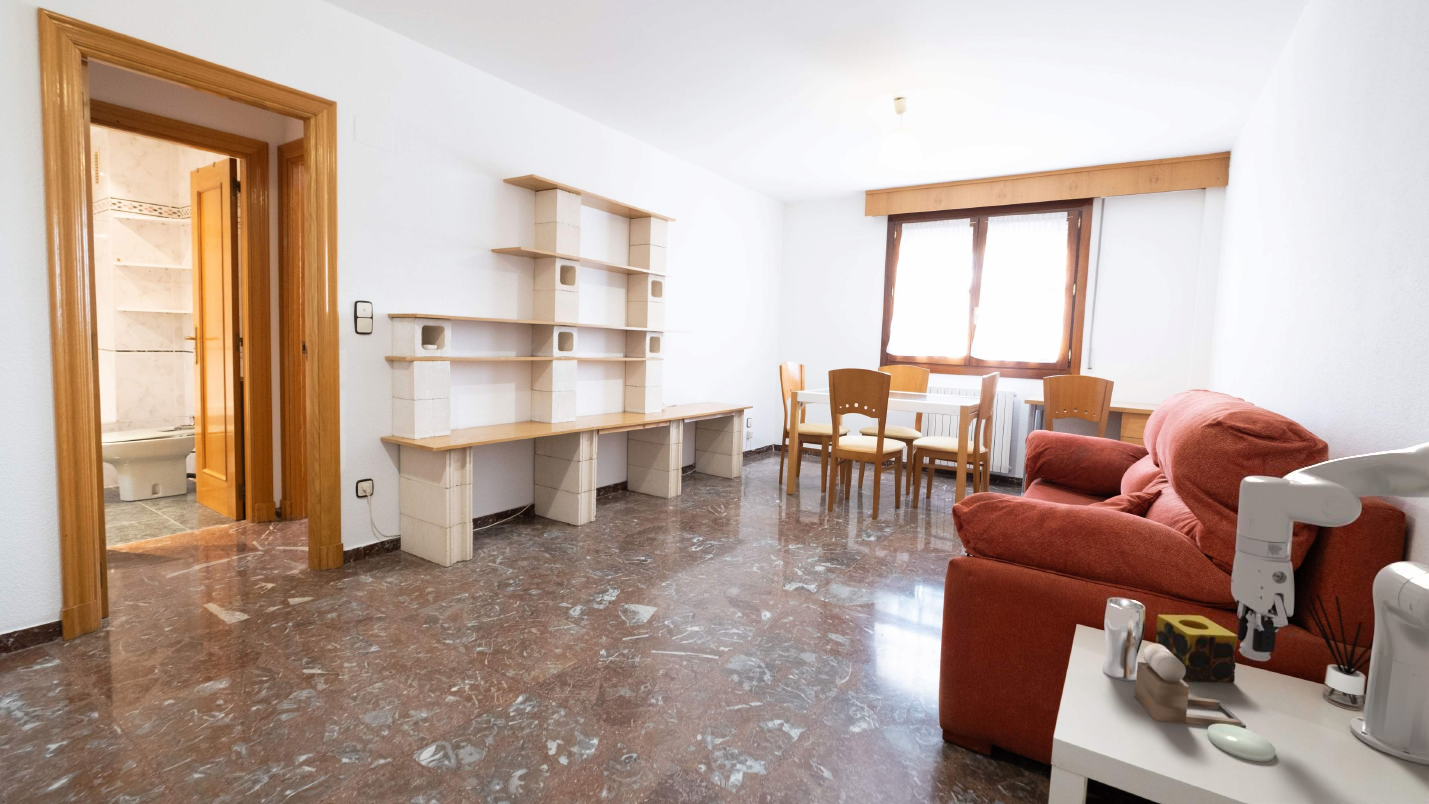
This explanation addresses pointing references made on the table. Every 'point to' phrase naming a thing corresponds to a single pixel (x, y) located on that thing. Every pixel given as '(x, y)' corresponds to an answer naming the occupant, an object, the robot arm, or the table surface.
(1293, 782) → the table surface
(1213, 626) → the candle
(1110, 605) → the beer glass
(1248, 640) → the rook chess piece
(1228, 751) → the pale green round disc
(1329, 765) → the table surface
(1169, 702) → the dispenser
